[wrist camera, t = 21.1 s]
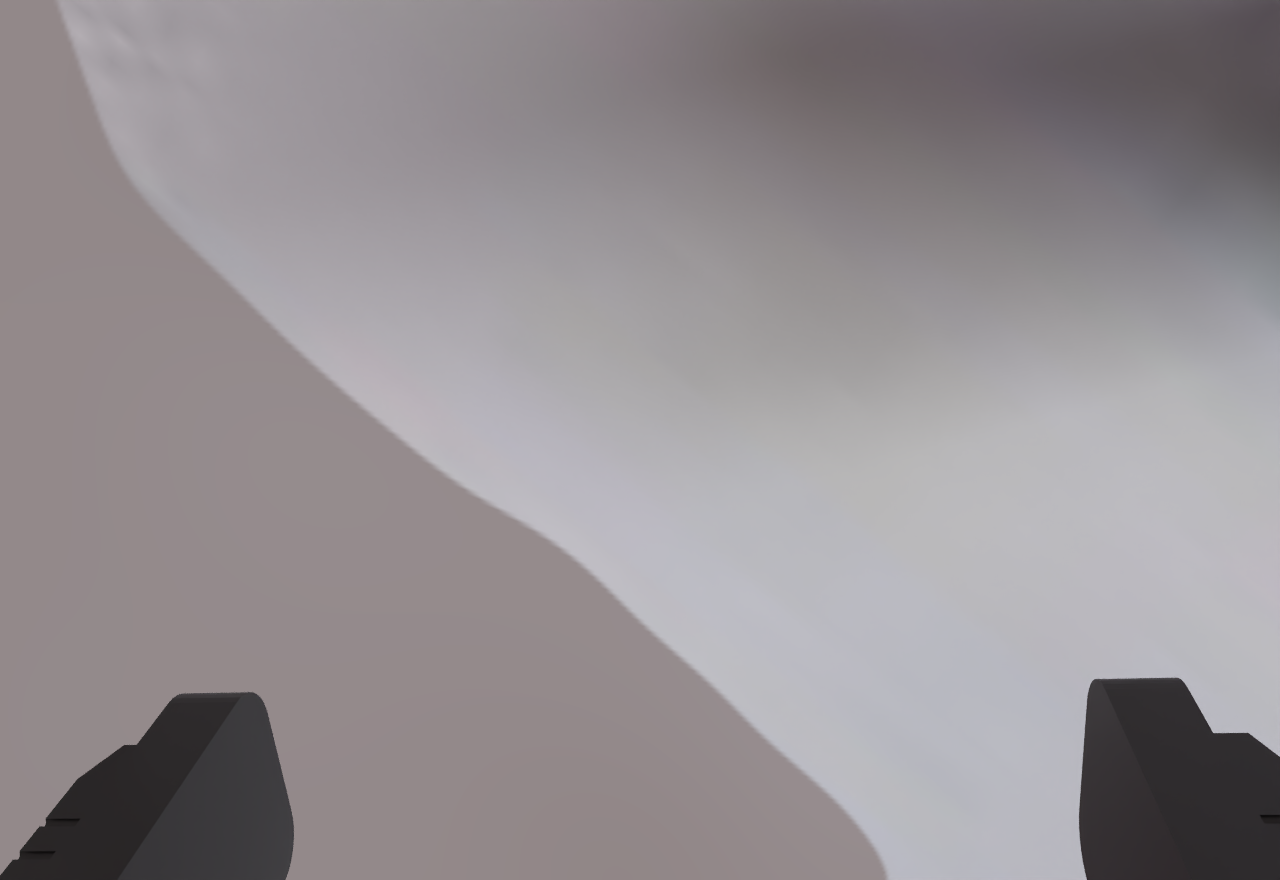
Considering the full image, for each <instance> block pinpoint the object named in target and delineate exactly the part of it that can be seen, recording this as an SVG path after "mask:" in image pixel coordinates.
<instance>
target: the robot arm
mask: <svg viewBox="0 0 1280 880" xmlns="http://www.w3.org/2000/svg"><path fill="white" fill-rule="evenodd" d="M1079 831H1080V843H1081V851H1082V858H1083V864H1084V869H1085V873H1086V877H1087V880H1280V757H1279V756H1278V755H1276V754H1275V753H1274V752H1272V751H1271V750H1270V749H1269V748H1267V747H1266V746H1265V745H1263V744H1262V743H1261V742H1259V741H1258V740H1257V739H1256V738H1254V737H1253V736H1252V735H1250V734H1249V733H1213V732H1212V730H1211V728H1210V727H1209V725H1208V723H1207V721H1206V720H1205V718H1204V716H1203V714H1202V713H1201V711H1200V709H1199V707H1198V705H1197V704H1196V702H1195V700H1194V698H1193V697H1192V695H1191V693H1190V691H1189V690H1188V688H1187V686H1186V685H1185V683H1184V682H1183V681H1182V680H1181V679H1179V678H1136V679H1094V680H1093V681H1092V683H1091V685H1090V688H1089V692H1088V698H1087V710H1086V724H1085V738H1084V752H1083V766H1082V780H1081V794H1080V808H1079ZM293 840H294V825H293V817H292V812H291V808H290V804H289V799H288V795H287V791H286V787H285V783H284V779H283V775H282V771H281V766H280V762H279V758H278V754H277V750H276V746H275V742H274V738H273V733H272V729H271V725H270V722H269V717H268V713H267V710H266V707H265V705H264V702H263V701H262V699H261V698H260V697H259V696H258V695H257V694H255V693H252V692H248V693H193V694H192V693H191V694H179V695H177V696H176V697H174V698H173V699H172V700H171V701H170V702H169V703H168V705H167V706H166V707H165V709H164V710H163V711H162V712H161V714H160V715H159V716H158V718H157V719H156V720H155V722H154V723H153V724H152V726H151V727H150V728H149V729H148V731H147V732H146V733H145V735H144V736H143V737H142V739H141V740H140V741H139V743H138V744H137V745H124V746H122V747H121V748H120V749H118V750H117V751H115V752H114V753H113V754H112V755H110V756H109V757H108V758H106V759H104V760H103V761H102V762H100V763H99V764H98V765H96V766H95V767H94V768H92V769H91V770H89V771H88V772H87V773H85V774H84V775H83V776H81V777H80V778H78V779H77V780H76V782H75V783H74V784H73V785H72V787H71V788H70V789H69V791H68V792H67V793H66V794H65V795H64V797H63V798H62V799H61V800H60V802H59V803H58V804H57V805H56V807H55V808H54V809H53V810H52V812H51V813H50V814H49V815H48V817H47V818H46V825H45V827H39V828H38V829H37V830H36V832H35V833H34V834H33V835H32V837H31V838H30V839H29V840H28V842H27V843H26V844H25V845H24V847H23V848H22V849H21V850H20V857H19V859H18V860H12V862H11V863H10V864H9V865H8V867H7V868H6V869H5V870H4V872H3V873H2V874H1V875H0V880H285V879H286V877H287V874H288V871H289V867H290V863H291V857H292V851H293Z"/></svg>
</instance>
